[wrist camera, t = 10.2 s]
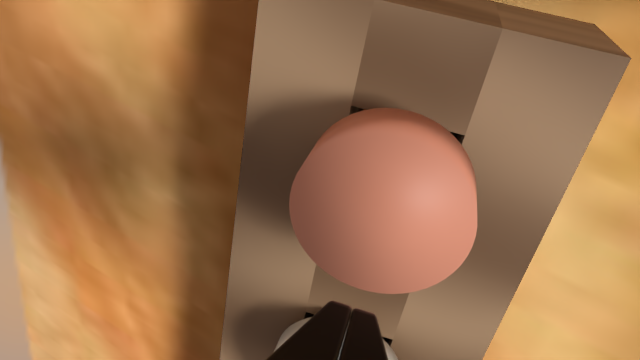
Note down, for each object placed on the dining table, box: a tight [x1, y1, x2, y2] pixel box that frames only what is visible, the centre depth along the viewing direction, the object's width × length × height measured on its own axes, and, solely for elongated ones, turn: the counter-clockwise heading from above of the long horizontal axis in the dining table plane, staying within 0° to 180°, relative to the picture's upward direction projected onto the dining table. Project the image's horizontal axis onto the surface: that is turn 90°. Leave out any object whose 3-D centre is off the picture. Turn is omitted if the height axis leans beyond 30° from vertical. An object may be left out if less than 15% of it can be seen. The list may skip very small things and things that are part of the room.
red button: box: [289, 108, 477, 294], centre depth 15 cm, size 5×5×6 cm
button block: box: [220, 0, 631, 360], centre depth 21 cm, size 25×9×4 cm, turn 170°
